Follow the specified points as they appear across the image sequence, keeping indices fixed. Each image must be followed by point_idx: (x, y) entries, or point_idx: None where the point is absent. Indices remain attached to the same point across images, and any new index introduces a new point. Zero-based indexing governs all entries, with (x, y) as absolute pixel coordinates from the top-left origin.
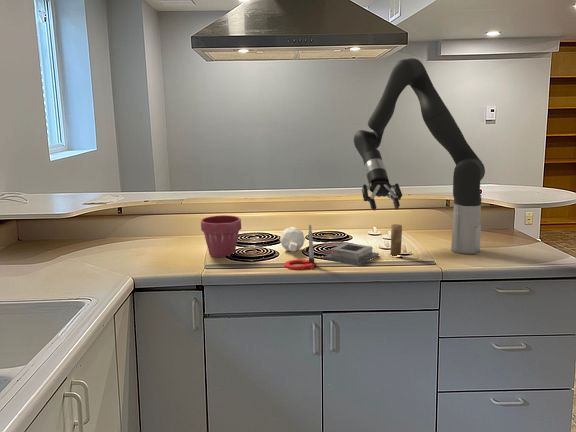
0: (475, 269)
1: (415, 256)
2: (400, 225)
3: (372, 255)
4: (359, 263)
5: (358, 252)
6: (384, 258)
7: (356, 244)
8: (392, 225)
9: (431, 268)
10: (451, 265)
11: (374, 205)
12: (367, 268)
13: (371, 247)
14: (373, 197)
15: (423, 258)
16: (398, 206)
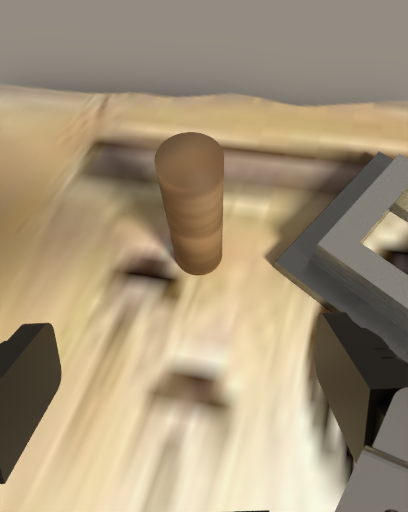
0: (4, 87)
1: (114, 239)
2: (163, 157)
3: (313, 233)
4: (382, 156)
5: (398, 167)
6: (258, 231)
7: (399, 299)
8: (216, 163)
9: (132, 109)
10: (49, 126)
11: (349, 320)
12: (352, 132)
13: (323, 237)
14: (396, 410)
15: (97, 209)
16: (30, 325)
